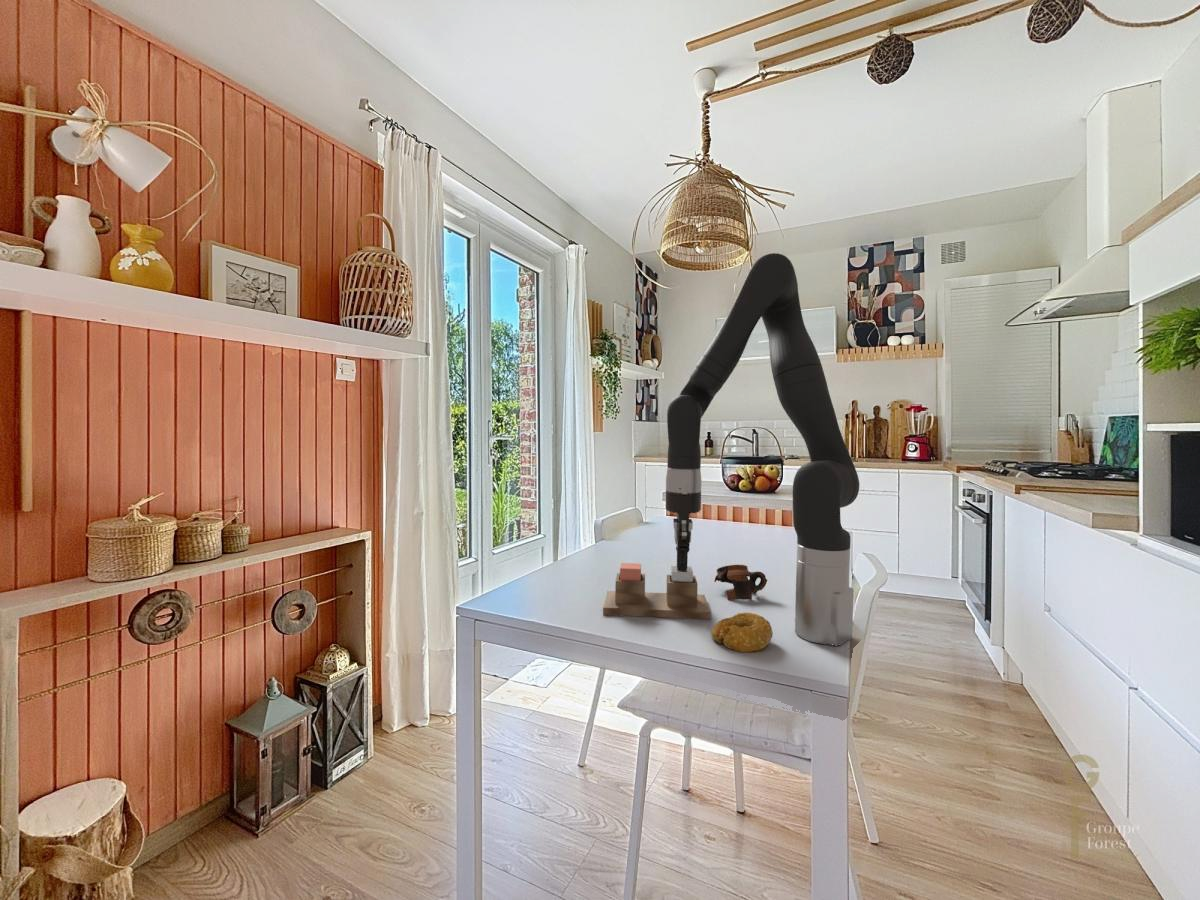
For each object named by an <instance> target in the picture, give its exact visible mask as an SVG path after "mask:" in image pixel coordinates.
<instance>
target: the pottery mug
mask: <svg viewBox="0 0 1200 900" xmlns="http://www.w3.org/2000/svg"><path fill="white" fill-rule="evenodd" d="M748 577H749V578H748ZM758 578H759V579H760V582H759V583H758V584H756V581H757V579H758ZM713 581H714V583H716V582H720V583H728V584H731V585H733V588H732V589H727V590H726V591H725V593H726V597H727V601H735V600H743V601H744V600H745V601H752V600H753V595H754V596H756V595H757V594H758V592H759V591H762V590H763V589H764V588H765V586H766V585H767V582H768V579H767V577H766V574H764V572H761V571H757V570H756V571H751V572H750V571H749V568H748V565H745V564H731V565H730V564H729V565H725V566H721V567H718V568H717V569H716V576H715V578H714V580H713Z"/></svg>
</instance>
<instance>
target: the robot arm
mask: <svg viewBox="0 0 1200 900" xmlns="http://www.w3.org/2000/svg"><path fill="white" fill-rule="evenodd" d="M742 283H743V284H742V285H741V287H740V290H739V292H738V295H737V296H736V298H735V301H734V302H733V305H732V307H731V308H730V310H729V311H728V314H727V316H726V317H725V319H724V321H723V323H722V325H721V326H720V328H719V329H718V332H717V333H716V335H715V336H714V338H713V340H712V341H711V343H709V346H708V348H707V349H706V350H705V351H704V353H703V355H702V356H701V358H700V359H699V361H698V362H697V364H696V365H695V367H694V368H693V370H692V372H691V373H690V377H689V380H688V381H687V383H686V384H685V385H684V387H683V388H682V390H681V391H680V392H679V393H678V395H677V396H676V397H674V398H673V399H672V400H671V401H670V402H669V403H668V404H669V405H668V407H667V410H666V411H667V412H666V413H667V414H666V419H667V420H666V423H667V424H666V425H667V438H668V439H667V440H668V446H667V468H666V477H665V510H666V511H667V512H668V513H669V512H670V513H675V514H676V518H672V519H673V522H672V523H673V524H672V526H673V529H674V530H673V531H674V532H673V533H674V536H673V537H674V542H675V550H676V566H677V569H678V570H686V569H687V567H688V553H689V552H690V543H691V542H692V530H693V525H694V524H693V520H692V519H693V518H690V514H698V513H699V512H701V510H702V472H701V460H702V459H701V458H702V455H701V454H702V452H701V444H700V439H701V438H700V437H701V424H702V423H701V422H702V420H701V419H702V418H703V416H704V415H705V412H706V411H707V409H708V408H709V406H710V404H711V403H712V402H713V400H714V398H715V396H716V395H717V394H718V393H719V391H720V390H722V388H723V387H724V385H725V384H726V382H727V381H728V379H729V377H730V376H731V375H732V373H733V371H734V370H735V369H736V367H737V365H738V364H739V362H740V360H741V358H742V356H743V353H744V351H745V349H746V347H747V344H748V342H749V340H750V337H751V335H752V334H753V333H752V332H754V331H753V330H754V329H755V328H756V325H757V324H758V322H759V321H760V319H762V322H763V325H764V327H765V330H766V334H767V337H768V338H767V339H768V347H769V360H770V361H769V363H770V367H771V368H770V369H771V374H772V379H773V383H774V385H775V386H774V387H775V390H776V394H777V396H778V400H779V403H780V405H781V407H782V410H784V412H785V413H786V416H788V418H789V420H791V423H793V425H794V426H795V428H796V429H797V431H798V433H800V435H801V437H802V439H803V441H804V443H805V445H806V449H807V451H808V456H809V459H810V461H809V462H806V463H804V464H802V465H801V466H800V467H799V468H798V470H796V472H795V475H794V478H793V483H792V522H793V523H792V525H793V529H794V531H795V534H796V538H797V539H796V540H797V541H796V567H795V568H796V571H795V573H796V574H795V576H796V577H795V578H796V579H795V607H794V609H795V610H794V611H795V613H794V614H795V615H794V616H795V617H794V632H795V634H796V635H797V636H798V637H800V638H801V639H804V640H806V641H809V642H813V643H817V644H821V645H822V644H823V645H830V644H833V645H832V646H834V645H835V646H834V647H839V646H840V645H842V644H844V643H845V642H848V641H850V640H851V639H853V626H854V625H853V623H854V621H853V620H854V618H853V617H854V616H853V615H854V594H855V593H854V588H853V587H851V586H850V566H851V565H850V562H851V560H850V558H851V534H850V532H849V531H848V530H846V529H845V528H844V527H843V526H842V523H841V508H845V507H848V506H849V505H851V504H853V503H854V502H855V501H856V500H857V498H858V495H859V492H860V480H859V475H858V472H857V469H856V467H855V464H854V462H853V460H852V457H851V454H850V453H849V449H848V448H847V445H846V443H845V440H844V438H843V435H842V432H841V430H840V427H839V426H840V425H839V422H838V417H837V415H836V412H835V408H834V404H833V402H832V398H831V395H830V391H829V387H828V382H827V379H826V376H825V372H824V369H823V364H822V362H821V359H820V357H819V353H818V351H817V349H816V347H815V345H814V343H813V341H812V339H811V336H810V335H809V332H808V330H807V328H806V325H805V322H804V318H803V314H802V308H801V303H800V294H799V286H798V279H797V275H796V271H795V267H794V265H793V263H792V262H791V260H790V259H789V258H788V257H787V256H786V255H785V254H781V253H775V252H772V253H767V254H765V255H762V256H761V257H759V258H758V259H756V261H755V262H754V263H753V264H752V265H751V267H750V269H749V271H748V273H747V274H746V276H745V279H744V281H743V282H742ZM847 640H848V641H847ZM838 645H839V646H838Z"/></svg>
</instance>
